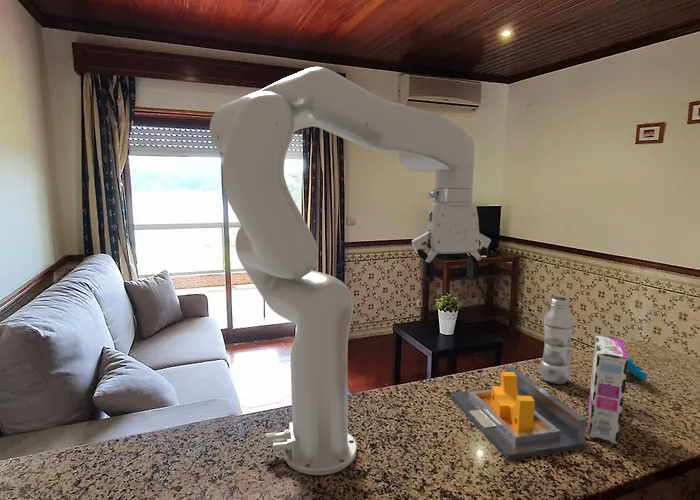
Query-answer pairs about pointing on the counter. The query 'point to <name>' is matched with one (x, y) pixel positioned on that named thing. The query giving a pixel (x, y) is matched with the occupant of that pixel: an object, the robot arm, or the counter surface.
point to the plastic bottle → (557, 342)
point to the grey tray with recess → (548, 426)
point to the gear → (636, 370)
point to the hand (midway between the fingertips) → (450, 279)
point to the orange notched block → (513, 403)
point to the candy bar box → (607, 389)
